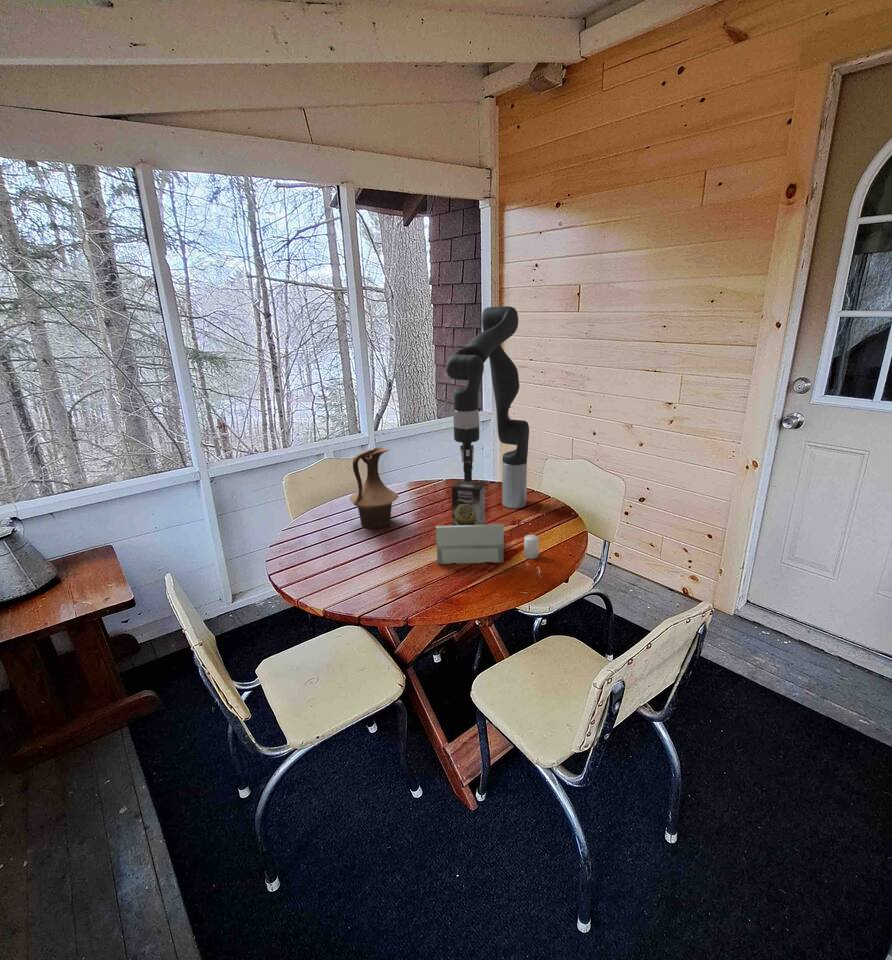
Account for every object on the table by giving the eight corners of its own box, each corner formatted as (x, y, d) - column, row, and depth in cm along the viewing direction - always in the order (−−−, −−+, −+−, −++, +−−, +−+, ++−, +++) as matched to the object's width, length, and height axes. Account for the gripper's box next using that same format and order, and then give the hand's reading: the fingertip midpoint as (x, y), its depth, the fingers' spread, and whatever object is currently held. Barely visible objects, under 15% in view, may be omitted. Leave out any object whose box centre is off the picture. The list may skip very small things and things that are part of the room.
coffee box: (452, 534, 161) (450, 486, 155) (458, 526, 166) (457, 479, 161) (480, 538, 158) (479, 488, 152) (485, 529, 163) (485, 482, 158)
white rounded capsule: (523, 552, 161) (523, 534, 159) (537, 551, 161) (537, 534, 159) (525, 558, 157) (525, 541, 155) (539, 558, 157) (540, 540, 155)
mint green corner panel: (438, 543, 169) (436, 509, 165) (499, 542, 168) (499, 508, 165) (437, 564, 155) (435, 527, 152) (503, 562, 155) (503, 525, 151)
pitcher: (375, 537, 174) (368, 458, 165) (341, 526, 184) (333, 451, 175) (409, 520, 188) (404, 446, 179) (375, 511, 198) (370, 440, 189)
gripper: (453, 419, 157) (454, 469, 163) (453, 430, 144) (455, 485, 149) (477, 418, 157) (478, 469, 162) (480, 429, 144) (481, 484, 149)
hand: (467, 476), depth 156 cm, fingers open, 8 cm apart
